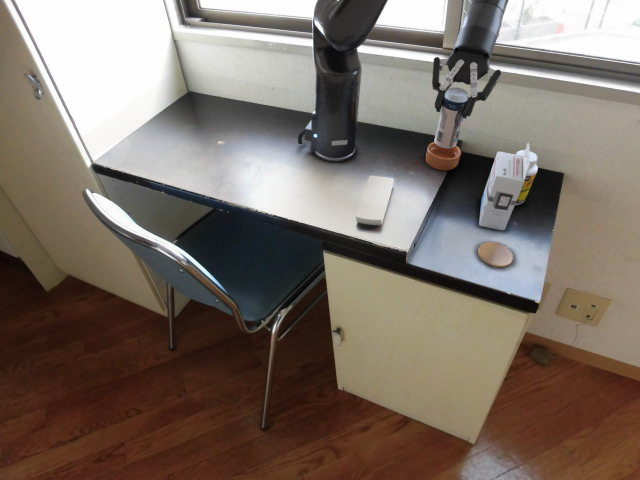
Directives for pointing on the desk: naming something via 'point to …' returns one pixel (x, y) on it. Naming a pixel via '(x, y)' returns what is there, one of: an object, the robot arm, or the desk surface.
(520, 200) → the supplement bottle
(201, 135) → the desk surface
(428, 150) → the terracotta bowl
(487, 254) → the coaster
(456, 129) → the cylindrical canister
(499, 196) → the ink box
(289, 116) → the desk surface
